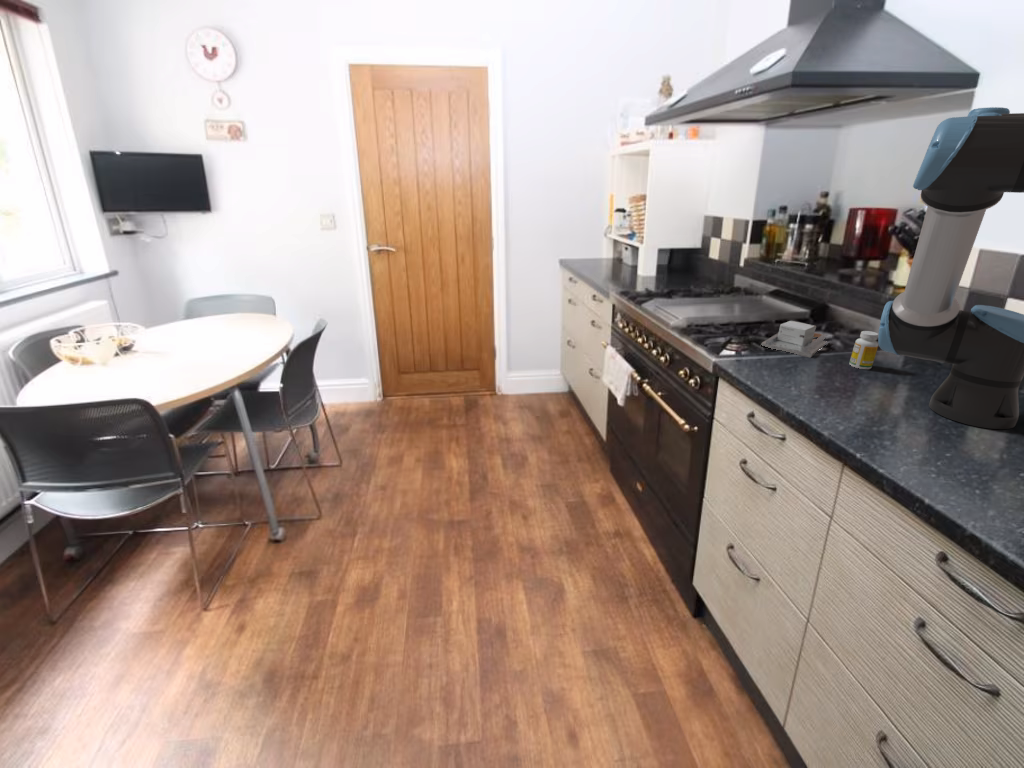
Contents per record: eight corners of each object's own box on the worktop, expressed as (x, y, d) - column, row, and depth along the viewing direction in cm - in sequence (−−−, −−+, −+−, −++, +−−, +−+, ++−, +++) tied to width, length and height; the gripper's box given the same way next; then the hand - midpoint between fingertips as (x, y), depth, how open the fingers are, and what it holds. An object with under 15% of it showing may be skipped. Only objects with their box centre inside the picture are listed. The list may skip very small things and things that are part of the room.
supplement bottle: (845, 365, 148) (854, 332, 144) (853, 361, 151) (862, 328, 148) (867, 371, 144) (877, 336, 141) (874, 367, 147) (884, 333, 144)
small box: (776, 340, 165) (779, 323, 163) (787, 335, 170) (790, 320, 168) (802, 346, 160) (806, 329, 158) (813, 341, 164) (817, 325, 162)
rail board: (810, 357, 154) (812, 349, 153) (760, 346, 162) (762, 339, 161) (828, 343, 168) (830, 335, 167) (781, 333, 176) (783, 326, 175)
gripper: (985, 181, 121) (951, 285, 130) (988, 181, 130) (956, 279, 139) (944, 180, 126) (914, 281, 134) (950, 180, 135) (921, 275, 143)
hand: (935, 280), depth 137 cm, fingers closed
